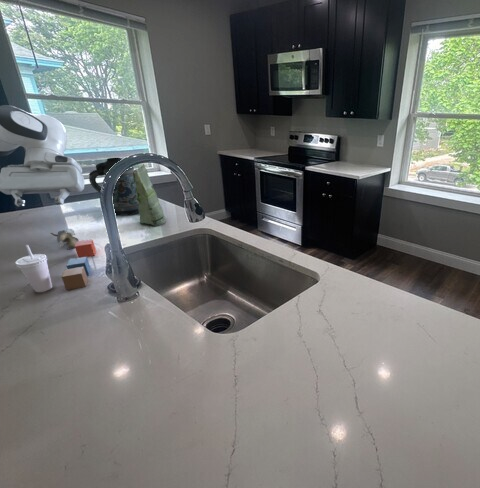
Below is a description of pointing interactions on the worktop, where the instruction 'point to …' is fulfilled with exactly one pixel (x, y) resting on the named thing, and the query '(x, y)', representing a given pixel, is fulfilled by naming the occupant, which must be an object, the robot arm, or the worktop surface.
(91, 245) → the block row
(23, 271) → the smoothie
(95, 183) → the beer stein
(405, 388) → the worktop surface
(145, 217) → the pouch
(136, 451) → the worktop surface
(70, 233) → the eagle figurine
